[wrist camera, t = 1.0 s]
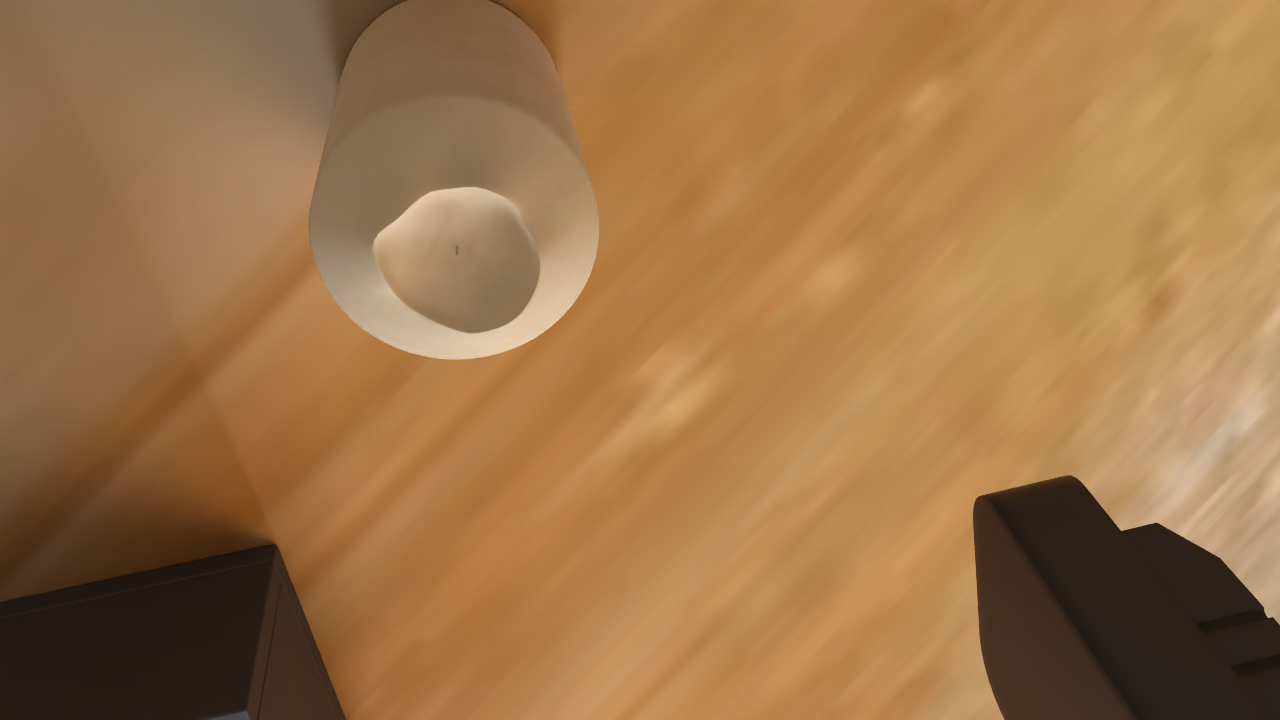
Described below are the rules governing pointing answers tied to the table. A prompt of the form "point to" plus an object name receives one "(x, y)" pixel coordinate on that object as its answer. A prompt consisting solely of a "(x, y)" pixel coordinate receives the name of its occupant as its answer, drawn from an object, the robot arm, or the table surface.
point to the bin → (167, 647)
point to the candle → (452, 184)
